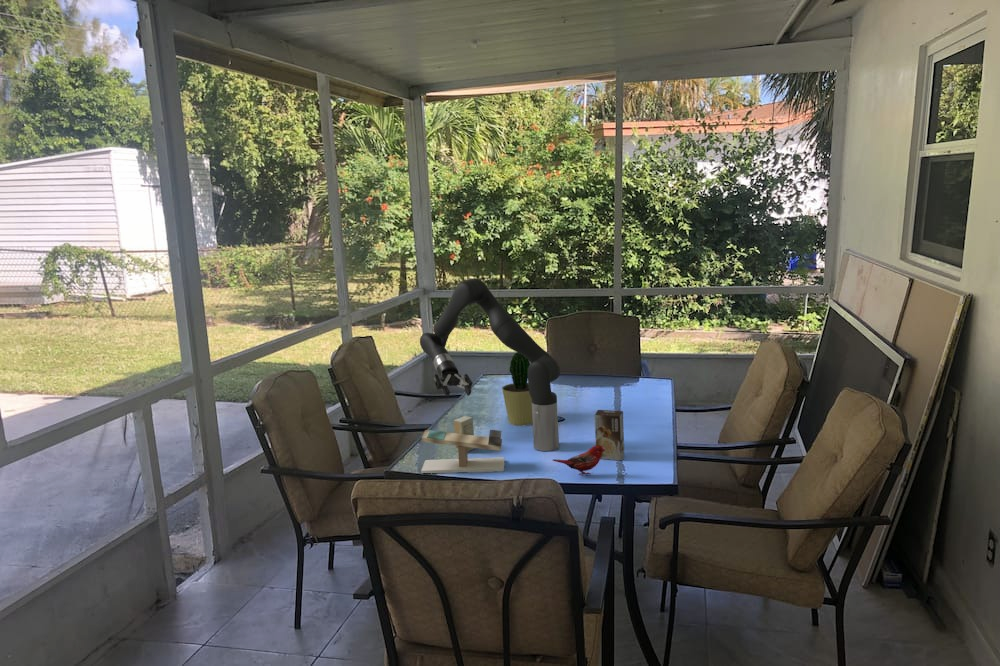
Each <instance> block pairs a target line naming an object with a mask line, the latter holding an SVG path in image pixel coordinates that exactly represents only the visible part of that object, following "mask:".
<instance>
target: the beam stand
mask: <svg viewBox="0 0 1000 666" xmlns="http://www.w3.org/2000/svg"><path fill="white" fill-rule="evenodd" d="M457 454H458V458H449V459H448V458H445V459H442V458H441V459H426V460H424V463H423V465H422V467H421V470H420V472H421V473H431V474H430V475H432V473H437V475H438V473H439V474H458V473H457V472H468V473H487V472H489V473H490V472H491V473H492V472H494V471H497V472H504V471H505V463H504V462H505V461H506V459H505V457H503V456H502V457H501V456H500V457H477V458H476V457H475V458H468V457H469V456H468V452H467V447H463V446H458V452H457ZM421 473H420V474H421Z"/></svg>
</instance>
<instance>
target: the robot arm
mask: <svg viewBox="0 0 1000 666" xmlns="http://www.w3.org/2000/svg"><path fill="white" fill-rule="evenodd" d="M472 304H478V306H480V307H481V309H482V310H484V312H485V313H486V315H487V318H488V321H489V326H490V329H491V331H492V332H493V334H494V335H495V336H496V338H498V340H499V341H500V342H501V343H502V344H503V345H504V346H506V347H507V348H509V349H510V350H512V351H514V352H515V353H520V354H521V355H523V356H524V357H526V358H527V359H528V360H529V361H530V362H529V363H531V364H530V365H529V368H528V378H527V379H528V380H527V383H528V386H529V394H530V397H531V399H532V418H533V424H532V438H533V441H532V442H533V448H534V450H536V451H540V452H541V451H542V452H549V451H550V452H551V451H555V450H560V438H559V435H560V434H559V422H558V420H559V419H558V417H559V416H558V415H559V414H558V396H557V394H556V393H555V392H553V391H552V387H551V383H552V382H553V381H556V380H557V379H558V378H559V376H560V374H561V369H560V365H559V364H558V362H557V361H556V360H555V359H554V357H553V356H552V355H550V354H549V353H548V352H547V351H546V350H545V349H543V348H542V347H541V346H540V345H539V344H538V343H537V342H536V341H535V339H533V338H532V336H530V334H528V333H527V332H526V330H525V329H524V328H523V327H522V326H521V325H520V324H519V322H517V321H516V319H515V318H514V317H513V316H512V315H511V314H510V313H509V312H508V311H507V310H506V309H505V308H504V306H503V305H501V303H500V302H499V301H498V300H497V298H496V297H495V296H494V294H493V293H492V292H491V290H490V288H488V286H487V285H486V284H485V283H484V282H483V281H482V280H481V279H478V278H475V277H474V278H469V279H465V280H463V281H460V282H459V283H458V284H457V285H456V287H455V288H454V290H453V293H452V295H451V298H450V299H449V302H448V303H447V306H446V308H445V310H444V311H443V313H442V314H441V315H440V317H439V318H438V320H437V322H435V324H434V326H433V329H432V331H433V333H431V332H424V333H422V335H421V336H420V337H419V344H420V345H419V346H420V348H421V349H422V351H423V352H424V353H425V354H426V355H427V356H429V358H430V359H431V361H432V363H433V365H434V369H435V370H436V373H435V374H434V376H433V383H434V385H435V388H436V390H441V391H442V392H443V394H444V395H445V396H446V397H449V396H450V394H451V392H450V389H449V387H452V386H457V387H458V388H462V389H463V390H464V392H465V394H466V396H470V395H471V394H472V389H471V388H472V386H473V381H472V380H471V378H470V376H469V375H468V374H467V373H465V374H464V375H461V374H460V373H459V370H458V367H457V366H456V364H455V362H454V360H453V359H452V357H451V355H450V354H449V352H448V350H447V349H446V346H447V342H448V339H449V336H450V334H451V333H452V332H453V330H454V329H455V328H456V326H457V324H458V322H459V315H460V313H461V312H462V311H463V310H464V309H465V308H466V307H467V306H468V305H472ZM441 382H442V383H441Z"/></svg>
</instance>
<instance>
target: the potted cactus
mask: <svg viewBox="0 0 1000 666" xmlns="http://www.w3.org/2000/svg"><path fill="white" fill-rule="evenodd" d="M511 358H512V359H510V362H509V363H507V364H509V370H508V371H509V372H508V373H510V374H511V375H510V377H511V380H510V381H511V382H512V383H511V382H510V383H509V384H505V385H503V386H502V387H501V390H502V395H503V398H504V399H503V401H504V405H505V410H506V414H507V420H508V423H509V424H510V425H512V424H513V426H516V425H517V427H518V426H519V427H521V426H522V427H523V425H525V426H529V425H530V424H531V425H533V418H532V399H531V397H530V394H529V386H528V368H529V365H530V364H531V362H530V361H529V360H528V359H527V358H526V357H524V356H523V355H521V354H520V353H518V352H515V353H513V355H512V356H511Z"/></svg>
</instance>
